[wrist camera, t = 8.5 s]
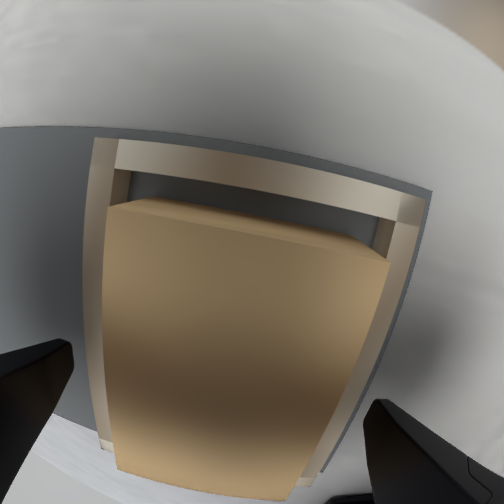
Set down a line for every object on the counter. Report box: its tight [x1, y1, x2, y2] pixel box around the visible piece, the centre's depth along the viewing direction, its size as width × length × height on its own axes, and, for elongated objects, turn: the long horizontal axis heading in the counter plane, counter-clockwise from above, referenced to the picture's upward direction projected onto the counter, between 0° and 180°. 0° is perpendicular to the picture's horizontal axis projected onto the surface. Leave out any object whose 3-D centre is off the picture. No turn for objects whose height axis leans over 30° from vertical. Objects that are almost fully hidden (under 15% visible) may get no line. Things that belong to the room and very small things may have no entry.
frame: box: [82, 137, 426, 487], centre depth 9 cm, size 9×12×1 cm
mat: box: [0, 126, 432, 472], centre depth 10 cm, size 22×13×1 cm, turn 79°
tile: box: [102, 196, 391, 501], centre depth 8 cm, size 9×6×3 cm, turn 169°
